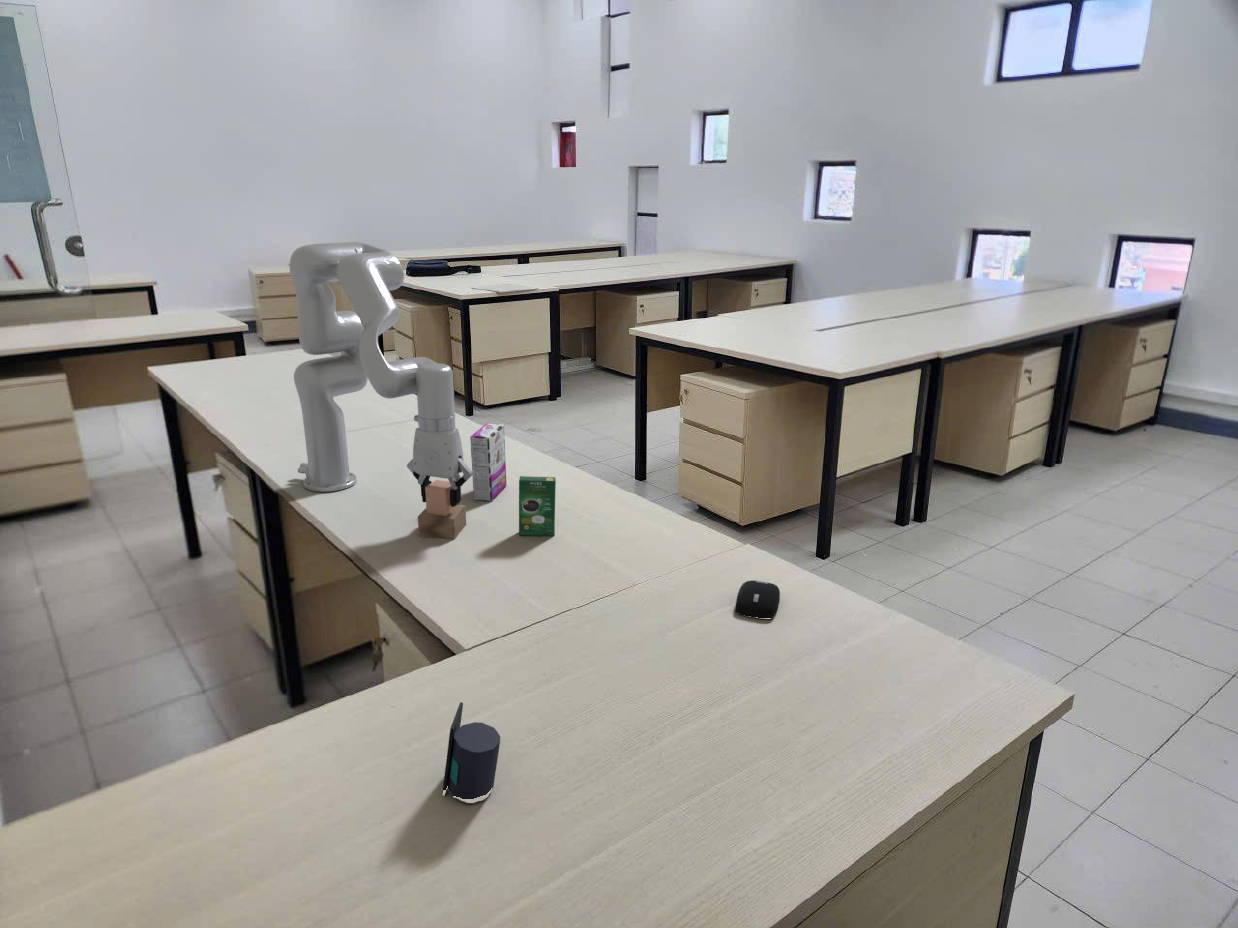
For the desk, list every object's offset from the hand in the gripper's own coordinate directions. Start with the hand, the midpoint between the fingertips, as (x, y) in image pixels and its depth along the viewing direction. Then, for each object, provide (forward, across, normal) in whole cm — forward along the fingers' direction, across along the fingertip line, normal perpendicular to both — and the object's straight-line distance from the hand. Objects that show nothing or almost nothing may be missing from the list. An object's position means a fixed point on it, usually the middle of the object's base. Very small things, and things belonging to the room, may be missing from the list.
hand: (441, 501), depth 178 cm
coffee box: (+7, +20, +6) cm, 22 cm away
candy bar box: (+7, -1, +24) cm, 25 cm away
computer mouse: (+7, +71, -8) cm, 72 cm away
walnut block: (+7, 0, 0) cm, 7 cm away
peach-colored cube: (+2, 0, 0) cm, 2 cm away
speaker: (+7, +45, -69) cm, 83 cm away
